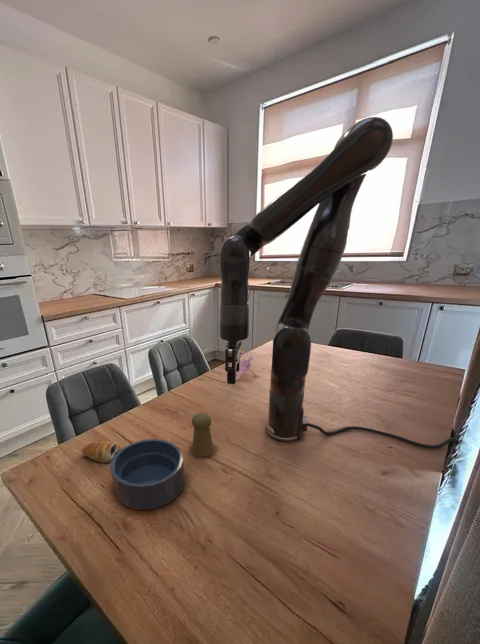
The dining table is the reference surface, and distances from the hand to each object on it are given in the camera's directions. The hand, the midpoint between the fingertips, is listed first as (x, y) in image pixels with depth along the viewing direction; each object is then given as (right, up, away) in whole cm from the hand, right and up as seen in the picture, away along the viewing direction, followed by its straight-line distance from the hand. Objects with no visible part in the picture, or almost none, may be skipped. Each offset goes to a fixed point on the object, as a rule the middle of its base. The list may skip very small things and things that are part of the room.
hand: (233, 377), depth 87 cm
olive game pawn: (-9, -20, 0) cm, 22 cm away
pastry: (-36, -22, -1) cm, 42 cm away
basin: (-22, -25, -12) cm, 35 cm away
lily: (+17, +1, +43) cm, 47 cm away
